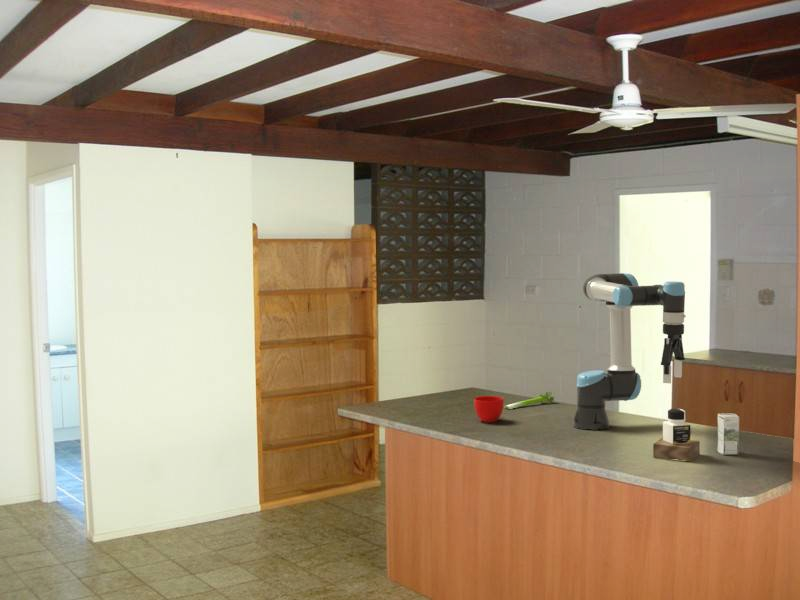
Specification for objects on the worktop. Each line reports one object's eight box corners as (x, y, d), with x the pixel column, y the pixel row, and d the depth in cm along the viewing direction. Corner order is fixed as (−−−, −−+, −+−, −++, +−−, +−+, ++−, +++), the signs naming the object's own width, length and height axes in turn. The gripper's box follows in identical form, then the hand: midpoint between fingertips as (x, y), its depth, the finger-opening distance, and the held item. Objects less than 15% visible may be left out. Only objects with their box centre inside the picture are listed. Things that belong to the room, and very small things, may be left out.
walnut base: (653, 457, 308) (653, 443, 307) (663, 450, 319) (663, 436, 318) (689, 462, 301) (690, 448, 300) (699, 454, 311) (699, 440, 311)
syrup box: (732, 451, 315) (732, 412, 314) (739, 455, 309) (739, 415, 308) (716, 451, 315) (717, 412, 314) (723, 455, 309) (723, 416, 308)
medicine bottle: (673, 444, 305) (673, 411, 305) (662, 440, 312) (662, 408, 312) (690, 443, 307) (690, 410, 306) (679, 439, 314) (679, 407, 313)
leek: (501, 412, 406) (547, 400, 422) (511, 417, 400) (557, 404, 416) (502, 400, 404) (548, 388, 421) (511, 404, 399) (558, 392, 415)
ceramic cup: (503, 416, 386) (503, 394, 386) (504, 424, 370) (503, 401, 369) (474, 416, 388) (474, 394, 387) (474, 424, 371) (473, 401, 370)
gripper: (673, 327, 303) (672, 386, 305) (693, 320, 323) (692, 375, 325) (652, 326, 307) (651, 384, 309) (673, 319, 327) (672, 374, 329)
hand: (672, 380), depth 317 cm, fingers open, 13 cm apart
